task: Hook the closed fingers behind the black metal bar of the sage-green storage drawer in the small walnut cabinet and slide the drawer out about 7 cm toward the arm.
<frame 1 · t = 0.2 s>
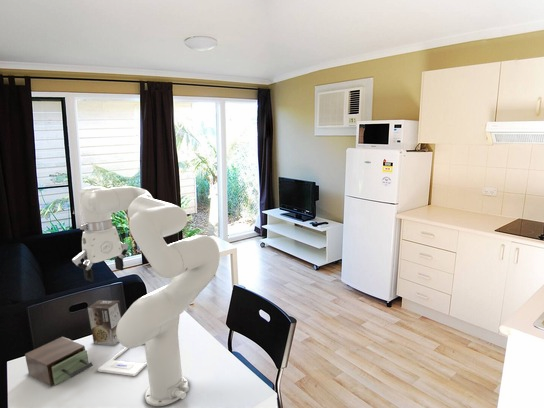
hand: (105, 274, 116), 36 cm above the table, tool pointing down, fingers open, 9 cm apart
cabinet: (59, 370, 124), on the table
coffee box: (109, 340, 142), on the table
photo frame: (135, 358, 131), on the table
drawer: (66, 364, 121), point 4 cm above the table, slide at 1.0 cm
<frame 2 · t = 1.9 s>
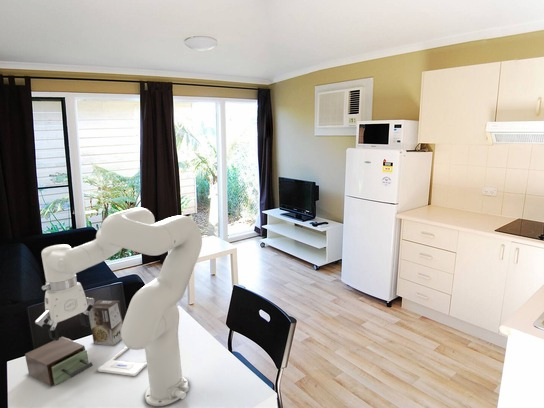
hand: (70, 332, 115), 18 cm above the table, tool pointing down, fingers open, 8 cm apart
nothing on the table moved.
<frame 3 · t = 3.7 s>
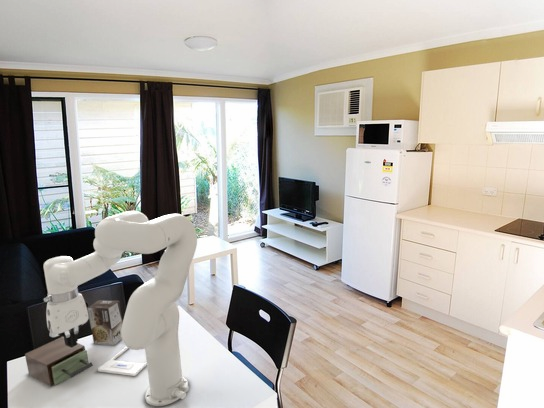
hand: (71, 345, 116), 13 cm above the table, tool pointing down, fingers closed
nothing on the table moved.
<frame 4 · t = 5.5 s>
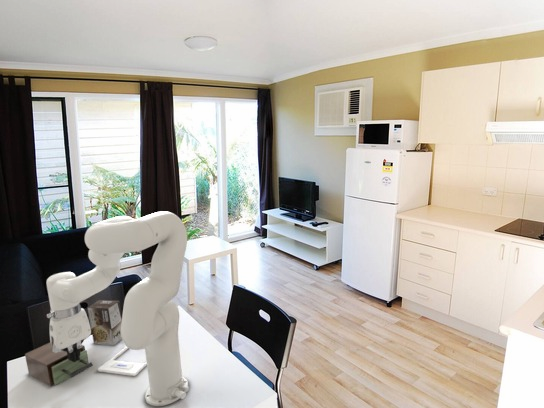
hand: (74, 359, 117), 8 cm above the table, tool pointing down, fingers closed
nothing on the table moved.
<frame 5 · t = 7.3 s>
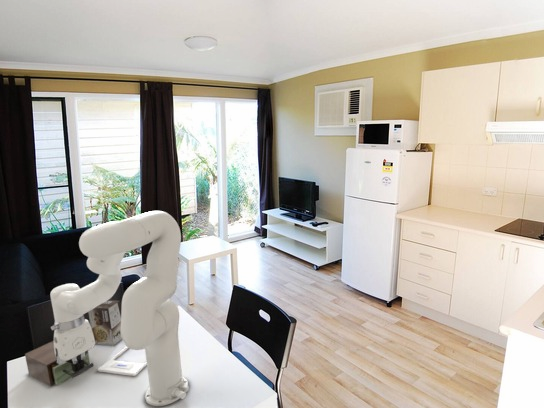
hand: (78, 370, 118), 4 cm above the table, tool pointing down, fingers closed
drawer: (67, 365, 120), point 4 cm above the table, slide at 1.7 cm, touching gripper
everything else where it was.
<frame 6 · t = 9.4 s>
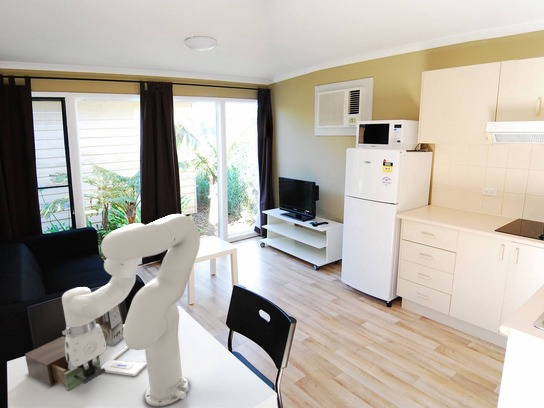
hand: (90, 376, 115), 4 cm above the table, tool pointing down, fingers closed
drawer: (78, 370, 118), point 4 cm above the table, slide at 8.0 cm
everything else where it was.
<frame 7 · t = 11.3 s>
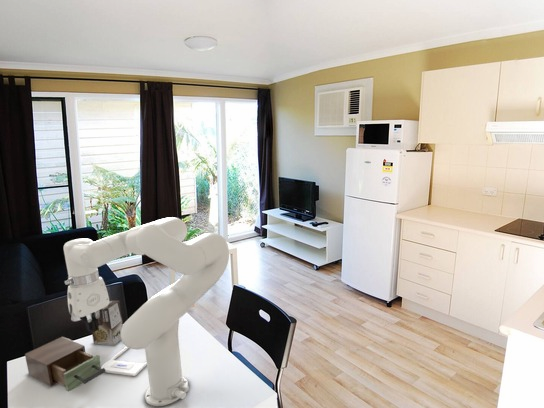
hand: (93, 330, 114), 20 cm above the table, tool pointing down, fingers closed
nothing on the table moved.
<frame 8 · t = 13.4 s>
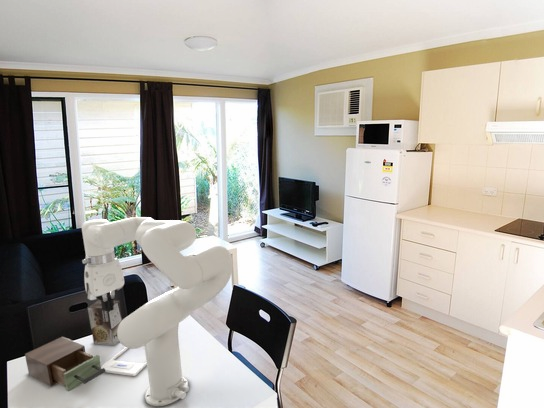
hand: (108, 309, 116), 25 cm above the table, tool pointing down, fingers closed
nothing on the table moved.
at the end: drawer slide at 8.0 cm; coffee box moved 0.2 cm from its start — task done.
